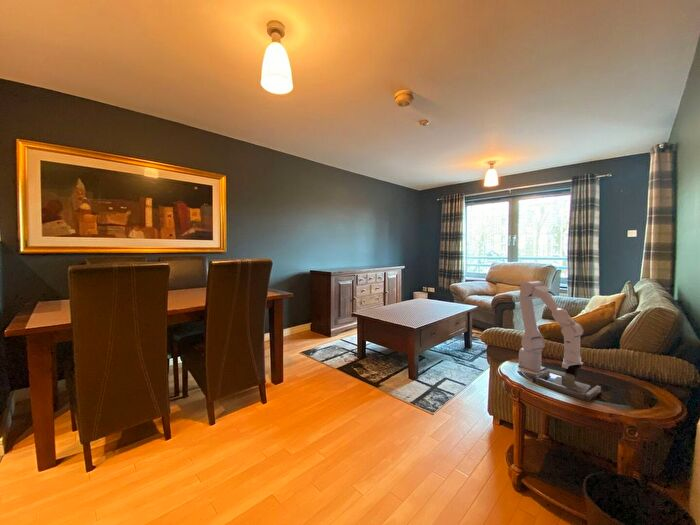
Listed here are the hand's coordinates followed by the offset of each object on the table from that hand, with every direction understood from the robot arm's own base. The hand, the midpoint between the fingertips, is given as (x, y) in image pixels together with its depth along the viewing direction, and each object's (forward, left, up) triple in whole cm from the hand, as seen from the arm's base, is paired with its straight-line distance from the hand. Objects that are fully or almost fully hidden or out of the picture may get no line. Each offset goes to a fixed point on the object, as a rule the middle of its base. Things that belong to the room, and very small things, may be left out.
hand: (571, 380), depth 130 cm
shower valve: (-1, -4, -2) cm, 4 cm away
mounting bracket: (0, -5, -1) cm, 6 cm away
